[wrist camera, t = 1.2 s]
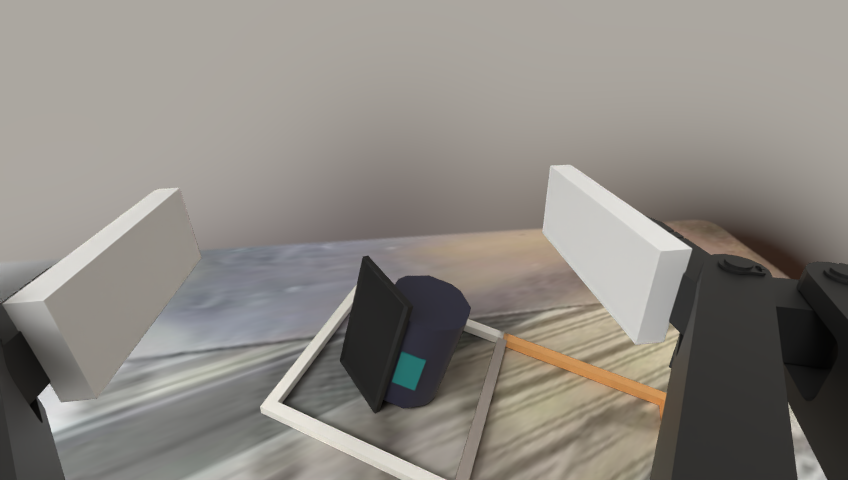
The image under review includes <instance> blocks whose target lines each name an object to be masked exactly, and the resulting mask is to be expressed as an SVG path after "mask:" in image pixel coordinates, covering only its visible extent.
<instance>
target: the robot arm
mask: <svg viewBox="0 0 848 480" xmlns="http://www.w3.org/2000/svg"><path fill="white" fill-rule="evenodd" d="M543 224H544V225H543V232H542V233H543V234H544V235H545V236H546V238H547V239H548V240H549V241H550V242H551V244H552V245H553V246H554V247H555V248H556V250H557V251H558V252H559V253H560V254H561V256H562V257H563V258H564V259H565V260H566V262H567V263H568V264H569V265H570V266H571V268H572V269H573V270H574V271H575V272H576V274H577V275H578V276H579V277H580V278H581V280H582V281H583V282H584V283H585V284H586V286H587V287H588V288H589V289H590V290H591V292H592V293H593V294H594V295H595V296H596V298H597V299H598V300H599V301H600V302H601V304H602V305H603V306H604V307H605V308H606V310H607V311H608V312H609V313H610V314H611V316H612V317H613V318H614V319H615V320H616V322H617V323H618V324H619V325H620V326H621V328H622V329H623V330H624V331H625V332H626V334H627V335H628V336H629V337H630V338H631V340H632V341H633V342H634V343H635V344H636V345H638V344H648V343H658V342H664V339H665V336H666V333H667V330H668V326H669V323H671V324H672V325H673V326H674V327H675V328H676V329H677V330H678V331H679V332H680V334H679V337H678V340H677V344H676V347H675V350H674V353H673V356H672V359H671V362H670V365H669V367H670V368H672V369H671V374H670V379H669V384H668V389H667V394H666V399H665V404H664V410H663V415H662V420H661V425H660V430H659V435H658V440H657V445H656V451H655V456H654V461H653V466H652V471H651V476H650V480H797V472H796V464H795V456H794V448H793V440H792V432H791V423H790V415H789V407H788V403H789V405H790V407H791V409H792V411H793V413H794V415H795V417H796V419H797V421H798V423H799V425H800V426H801V428H802V430H803V432H804V434H805V436H806V438H807V440H808V442H809V444H810V446H811V448H812V450H813V452H814V454H815V456H816V458H817V460H818V462H819V464H820V466H821V468H822V470H823V472H824V474H825V476H826V478H827V480H848V265H846V264H842V263H839V264H836V263H830V262H813V263H809V264H808V265H807V266H806V267H805V269H804V271H803V273H802V275H801V278H800V280H795V279H784V278H773V277H772V275H771V273H770V271H769V270H768V269H767V268H765V267H764V266H762V265H761V264H759V263H756V262H754V261H752V260H750V259H746V258H743V257H739V256H734V255H727V254H714V255H710V254H709V253H707V252H706V251H704V250H703V249H701V248H700V247H698V246H697V245H695V244H694V243H692V242H691V241H689V240H688V239H686V238H683V236H682V235H680V234H679V233H677V232H674V230H673V229H671V228H670V227H668V226H667V225H665V224H664V223H662V222H660V221H657V220H655V219H652V218H649V217H647V216H644V215H643V214H641V213H640V212H638V211H637V210H635V209H634V208H632V207H631V206H630V205H628V204H627V203H625V202H624V201H622V200H621V199H619V198H618V197H616V196H615V195H614V194H612V193H611V192H609V191H608V190H606V189H605V188H603V187H602V186H601V185H599V184H598V183H596V182H595V181H593V180H592V179H590V178H589V177H587V176H586V175H585V174H583V173H582V172H580V171H579V170H577V169H576V168H574V167H573V166H572V165H556V166H550V173H549V181H548V190H547V198H546V207H545V215H544V223H543ZM201 258H202V257H201V254H200V251H199V248H198V245H197V242H196V238H195V235H194V232H193V229H192V225H191V223H190V219H189V216H188V213H187V210H186V206H185V203H184V200H183V197H182V194H181V190H180V188H169V189H156V190H155V191H153V192H152V193H151V194H149V195H148V196H147V197H145V198H144V199H143V200H141V201H140V202H138V203H137V204H136V205H134V206H133V207H132V208H130V209H129V210H128V211H126V212H125V213H124V214H122V215H121V216H120V217H118V218H117V219H116V220H114V221H113V222H112V223H110V224H109V225H108V226H106V227H105V228H104V229H102V230H101V231H100V232H98V233H97V234H96V235H94V236H93V237H92V238H90V239H89V240H87V241H86V242H85V243H83V244H82V245H81V246H79V247H78V248H77V249H75V250H74V251H73V252H71V253H70V254H69V255H67V256H66V257H65V258H63V259H62V260H61V261H59V262H58V263H56V264H55V265H54V266H52V267H50V268H48V269H46V270H45V271H44V272H42V273H41V274H40V275H38V276H37V277H36V278H34V279H33V280H32V282H29V283H28V284H26V285H25V286H23V287H22V288H21V289H20V291H19V292H15V293H14V294H13V295H11V296H10V297H9V298H7V299H6V300H5V301H3V302H2V303H0V480H65V477H64V474H63V470H62V467H61V463H60V460H59V457H58V453H57V450H56V446H55V443H54V439H53V436H52V432H51V429H50V425H49V422H48V418H47V415H46V411H45V408H44V407H43V405H42V403H41V402H40V400H39V399H38V397H37V396H38V395H39V394H40V393H41V392H42V391H43V390H44V389H45V388H46V386H47V385H48V384H49V383H50V384H51V386H52V388H53V389H54V391H55V393H56V394H57V396H58V398H59V399H60V401H61V402H69V401H79V400H89V399H97V398H98V396H99V395H100V394H101V392H102V391H103V389H104V388H105V387H106V385H107V384H108V383H109V381H110V380H111V379H112V377H113V376H114V375H115V373H116V372H117V371H118V369H119V368H120V367H121V365H122V364H123V363H124V361H125V360H126V359H127V357H128V356H129V355H130V353H131V352H132V351H133V349H134V348H135V347H136V345H137V344H138V343H139V341H140V340H141V338H142V337H143V336H144V334H145V333H146V332H147V330H148V329H149V328H150V326H151V325H152V324H153V322H154V321H155V320H156V318H157V317H158V316H159V314H160V313H161V312H162V310H163V309H164V308H165V306H166V305H167V304H168V302H169V301H170V300H171V298H172V297H173V296H174V294H175V293H176V291H177V290H178V289H179V287H180V286H181V285H182V283H183V282H184V281H185V279H186V278H187V277H188V275H189V274H190V273H191V271H192V270H193V269H194V267H195V266H196V265H197V263H198V262H199V261H200V259H201Z"/></svg>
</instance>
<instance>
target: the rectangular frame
mask: <svg viewBox="0 0 848 480" xmlns="http://www.w3.org/2000/svg"><path fill="white" fill-rule="evenodd" d="M356 286H357V284H356ZM356 286H355V287H354V288H353V289H352V291H351V292H350V293H349V294H348V296H347V297H346V298H345V300H344V301H343V302H342V303H341V305H340V306H339V307H338V308H337V310H336V311H335V312H334V314H333V315H332V316H331V317H330V319H329V320H328V321H327V322H326V324H325V325H324V326H323V328H322V329H321V330H320V331H319V333H318V334H317V335H316V336H315V338H314V339H313V340H312V341H311V343H310V344H309V345H308V347H307V348H306V349H305V350H304V352H303V353H302V354H301V355H300V357H299V358H298V359H297V361H296V362H295V363H294V364H293V366H292V367H291V368H290V369H289V371H288V372H287V373H286V375H285V376H284V377H283V378H282V380H281V381H280V382H279V383H278V385H277V386H276V387H275V389H274V390H273V391H272V392H271V394H270V395H269V396H268V397H267V399H266V400H265V401H264V403H263V404H262V405H261V406H260V408H261V413H262V414H264V415H267V416H269V417H271V418H273V419H275V420H277V421H279V422H281V423H283V424H285V425H288V426H290V427H292V428H294V429H296V430H298V431H300V432H302V433H304V434H307V435H309V436H311V437H313V438H315V439H317V440H319V441H321V442H323V443H325V444H328V445H330V446H332V447H334V448H336V449H338V450H340V451H342V452H344V453H347V454H349V455H351V456H353V457H355V458H357V459H359V460H361V461H363V462H365V463H368V464H370V465H372V466H374V467H376V468H378V469H380V470H382V471H384V472H387V473H389V474H391V475H393V476H395V477H397V478H399V479H401V480H445V479H443V478H441V477H439V476H437V475H435V474H433V473H430V472H428V471H426V470H424V469H422V468H420V467H417V466H415V465H413V464H411V463H409V462H407V461H405V460H402V459H400V458H398V457H396V456H394V455H392V454H389V453H387V452H385V451H383V450H381V449H379V448H377V447H374V446H372V445H370V444H368V443H366V442H364V441H361V440H359V439H357V438H355V437H353V436H351V435H348V434H346V433H344V432H342V431H340V430H338V429H336V428H333V427H331V426H329V425H327V424H325V423H323V422H320V421H318V420H316V419H314V418H312V417H310V416H308V415H305V414H303V413H301V412H299V411H297V410H295V409H292V408H290V407H288V406H286V405H284V404H282V403H283V401H284V400H285V398H286V397H287V396H288V394H289V393H290V392H291V390H292V389H293V388H294V386H295V385H296V384H297V382H298V381H299V380H300V378H301V377H302V376H303V374H304V373H305V372H306V370H307V369H308V368H309V366H310V365H311V364H312V362H313V361H314V359H315V358H316V357H317V355H318V354H319V353H320V351H321V350H322V349H323V347H324V346H325V345H326V343H327V342H328V341H329V339H330V338H331V337H332V335H333V334H334V333H335V331H336V330H337V329H338V327H339V326H340V325H341V323H342V322H343V320H344V319H345V318H346V316H347V315H348V314H349V312H350V311H351V308H352V304H353V299H354V295H355V290H356ZM463 331H465V332H468V333H471V334H473V335H476V336H479V337H481V338H484V339H486V340H489V341H492V342H494V343H496V345H495V348H494V352H493V355H492V358H491V362H490V365H489V368H488V372H487V375H486V378H485V382H484V385H483V388H482V392H481V395H480V398H479V402H478V405H477V408H476V412H475V415H474V418H473V422H472V425H471V428H470V432H469V435H468V438H467V442H466V445H465V448H464V451H463V455H462V458H461V461H460V465H459V468H458V471H457V475H456V478H455V480H469V478H470V475H471V471H472V467H473V464H474V460H475V456H476V453H477V449H478V445H479V442H480V438H481V434H482V431H483V427H484V423H485V420H486V416H487V413H488V409H489V405H490V402H491V398H492V394H493V391H494V387H495V383H496V380H497V376H498V372H499V369H500V365H501V361H502V358H503V354H504V350H505V347H507V348H510V349H513V350H515V351H518V352H521V353H523V354H526V355H528V356H531V357H534V358H536V359H539V360H542V361H544V362H547V363H549V364H552V365H555V366H557V367H560V368H563V369H565V370H568V371H570V372H573V373H576V374H578V375H581V376H584V377H586V378H589V379H591V380H594V381H597V382H599V383H602V384H604V385H607V386H610V387H612V388H615V389H618V390H620V391H623V392H625V393H628V394H631V395H633V396H636V397H639V398H641V399H644V400H646V401H649V402H652V403H654V404H657V405H659V408H660V418H661V420H662V415H663V410H664V404H665V399H666V394H667V393H665V392H662V391H660V390H657V389H654V388H652V387H649V386H646V385H643V384H641V383H638V382H635V381H633V380H630V379H627V378H625V377H622V376H619V375H617V374H614V373H611V372H609V371H606V370H603V369H601V368H598V367H595V366H593V365H590V364H587V363H585V362H582V361H579V360H577V359H574V358H571V357H569V356H566V355H563V354H561V353H558V352H555V351H553V350H550V349H547V348H545V347H542V346H539V345H537V344H534V343H531V342H529V341H526V340H523V339H521V338H518V337H515V336H513V335H510V334H507V333H504V332H502V331H499V330H496V329H494V328H491V327H488V326H486V325H483V324H480V323H478V322H475V321H472V320H470V319H468V320H467V323H466V325H465V328H464V330H463Z"/></svg>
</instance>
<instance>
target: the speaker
mask: <svg viewBox="0 0 848 480" xmlns="http://www.w3.org/2000/svg"><path fill="white" fill-rule="evenodd" d="M470 309H471V307H470V306H469V304H468V302H467V301H466V299H465V298H464V296H463V294H462V293H461V291H460V290H458V289H457V288H456V287H454V286H453V285H452V284H449V283H447V282H444V281H442V280H439V279H436V278H434V277H431V276H405V277H403V278H401V279H398V281H397V282H396V284H395V285H394V284H393V283H392V282H391V280H390V279H389V278H388V277H387V276H386V275H385V274H384V273H383V272H382V271H381V269H380V268H379V267H378V266H377V265H376V264H375V263H374V262H373V261H372V260H371V258H370V257H369V256H364V257H363V259H362V263H361V268H360V272H359V277H358V281H357V286H356V290H355V295H354V299H353V304H352V308H351V313H350V317H349V322H348V326H347V331H346V335H345V340H344V344H343V349H342V353H341V358H340V362H341V363H342V365H343V366H344V368H345V369H346V371H347V372H348V374H349V375H350V377H351V378H352V380H353V381H354V383H355V384H356V386H357V387H358V389H359V390H360V392H361V393H362V395H363V397H364V398H365V400H366V401H367V403H368V404H369V406H370V407H371V409H372V410H373V412H374V413H377V412H379V411H380V408H381V405H382V401H383V400H385V401H387V402H390V403H392V404H394V405H397V406H399V407H401V408H409V407H415V406H422V405H426V404H428V403H429V402H430V401H431V400H433V399H434V397H435V394H436V392H437V390H438V387H439V385H440V383H441V381H442V378H443V376H444V374H445V371H446V369H447V367H448V364H449V362H450V360H451V358H452V355H453V353H454V351H455V348H456V346H457V344H458V342H459V339H460V337H461V335H462V332H463V330H464V328H465V325H466V323H467V320H468V316H469V313H470Z"/></svg>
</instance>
